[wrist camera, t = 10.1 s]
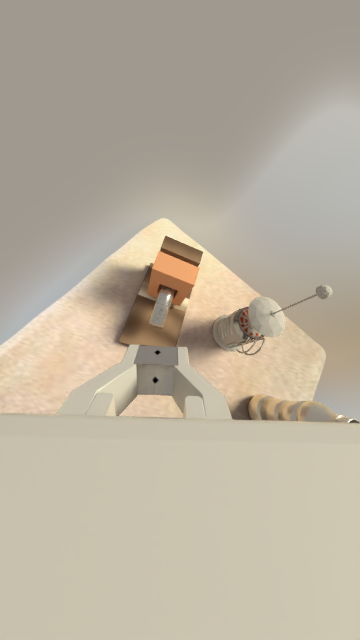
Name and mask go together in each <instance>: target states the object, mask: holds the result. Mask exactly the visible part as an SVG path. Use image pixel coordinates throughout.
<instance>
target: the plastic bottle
mask: <svg viewBox="0 0 360 640" xmlns="http://www.w3.org/2000/svg"><path fill="white" fill-rule="evenodd" d="M248 411H249V415H250V417H251V419H252V420H267V421H302V422H336V423H360V422H359V421H358V420H356V419H354V418H349V417H346V416H343V415H336V414H335V413H334V412H333V411H332V410H331V409H329V408H328V407H327V406H325V405H324V404H321V403H319V402H315V401H297V402H295V401H283V400H279V399H276V398H273V397H271V396H268V395H264V394H261V395H256V396H254V397H253V398H252V399H251V400H250V402H249V405H248Z"/></svg>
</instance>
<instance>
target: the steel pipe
mask: <svg viewBox="0 0 360 640" xmlns="http://www.w3.org/2000/svg"><path fill="white" fill-rule="evenodd" d="M174 293H175V290H174V289H172V288H169V287H167V286H164V285H162V286H161V289H160V292H159V294H158V297H157V300H156V303H155V305H154V308H153V311H152V314H151V317H150V319H149V322H148V324H149V325H150V326H151V327H154V328H157V329H163V327H164V324H165V320H166V317H167V314H168V311H169V308H170V305H171V302H172V299H173V296H174Z"/></svg>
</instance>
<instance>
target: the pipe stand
mask: <svg viewBox="0 0 360 640" xmlns="http://www.w3.org/2000/svg"><path fill="white" fill-rule="evenodd" d="M160 252H163V253H165V254H168V255H170V256H172V257H175V258H177V259H180V260H182V261H184V262H187V263H189V264H192V265H194V266H196V267H198V265H199V264H200V261H201V257H202V254H203V252H202V251H200V250H197V249H195V248H193V247H190V246H188V245H186V244H183V243H181V242H179V241H177V240H174V239H172V238H170V237H167V236H165V239H164V241H163V244H162V246H161V250H160ZM153 265H154V264H153V263H151V264H150V266H149V269H148V271H147V273H146V276H145V278H144V281H143V283H142V285H141V288H140V290H139V293H138V295H137V298H136V300H135V303H134V305H133V307H132V310H131V312H130V315H129V317H128V320H127V322H126V324H125V327H124V329H123V332H122V334H121V337H120V339H119V342H120V343H124V344H127V345H130V344H136V345H151V346H163V347H176V344H177V340H178V337H179V333H180V330H181V326H182V323H183V319H184V316H185V312H186V309H187V305H188V302H189V298H190V294H191V291H192V289H191V291H190V292H189V294H188V295H187V296H186V298H185V299H184V301H183V302H182V304H181V305H180V306H177V305H174V304H172V303H171V305H170V308H169V311H168V314H167V317H166V320H165V324H164V327H163V329H157V328H154V327H151V326H150V325H149V324H148V322H149V319H150V317H151V314H152V311H153V308H154V305H155V303H156V300H157V298H156V297H153V296H150V295H148V294H147V291H148V286H149V281H150V276H151V271H152V267H153Z"/></svg>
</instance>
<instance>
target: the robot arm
mask: <svg viewBox="0 0 360 640" xmlns="http://www.w3.org/2000/svg"><path fill="white" fill-rule="evenodd" d="M137 394H138V395H169V396H172V397H173V399H174V400H175V402H176V403H177V405H178V407H179V408H180V410H181V412H182V413H183V418H166V417H130V416H119V415H120V414H121V413H122V412H123V411H124V409H125V408H126V407H127V406H128V405H129V404H130V403H131V402H132V401H133V400H134V399H135V398H136V397H137ZM0 640H360V423H336V422H302V421H267V420H232V417H231V413H230V410H229V407H228V404H227V401H226V398H225V396H224V395H223V394H222V393H221V392H220V391H219V390H218V389H216V388H215V387H214V386H213V385H212V384H211V383H210V382H209V381H208V380H207V379H205V378H204V377H203V376H202V375H201V374H200V373H199V372H198V371H197V370H196V369H195V368H193V367H192V366H189V358H188V349H187V347H163V346H151V345H136V344H130V345H129V347H128V349H127V351H126V354H125V356H124V358H123V360H122V362H121V363H118V364H116V365H114V366H113V367H111V368H109V369H108V370H106V371H104V372H103V373H101V374H99V375H98V376H96V377H94V378H93V379H91V380H89V381H88V382H86V383H84V384H83V385H81V386H79V387H78V388H76V389H74V390H73V391H72V392H71V394H70V395H69V397H68V398H67V399H66V401H65V402H64V404H63V405H62V407H61V408H60V410H59V411H58V412H57V414H26V413H0Z"/></svg>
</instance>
